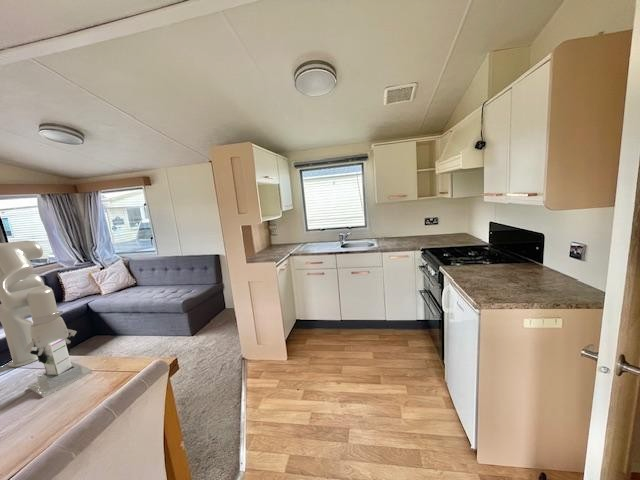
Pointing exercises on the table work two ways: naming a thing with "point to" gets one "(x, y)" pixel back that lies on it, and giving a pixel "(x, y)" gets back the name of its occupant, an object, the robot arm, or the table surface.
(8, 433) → the table surface
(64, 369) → the syrup box
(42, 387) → the square socket
